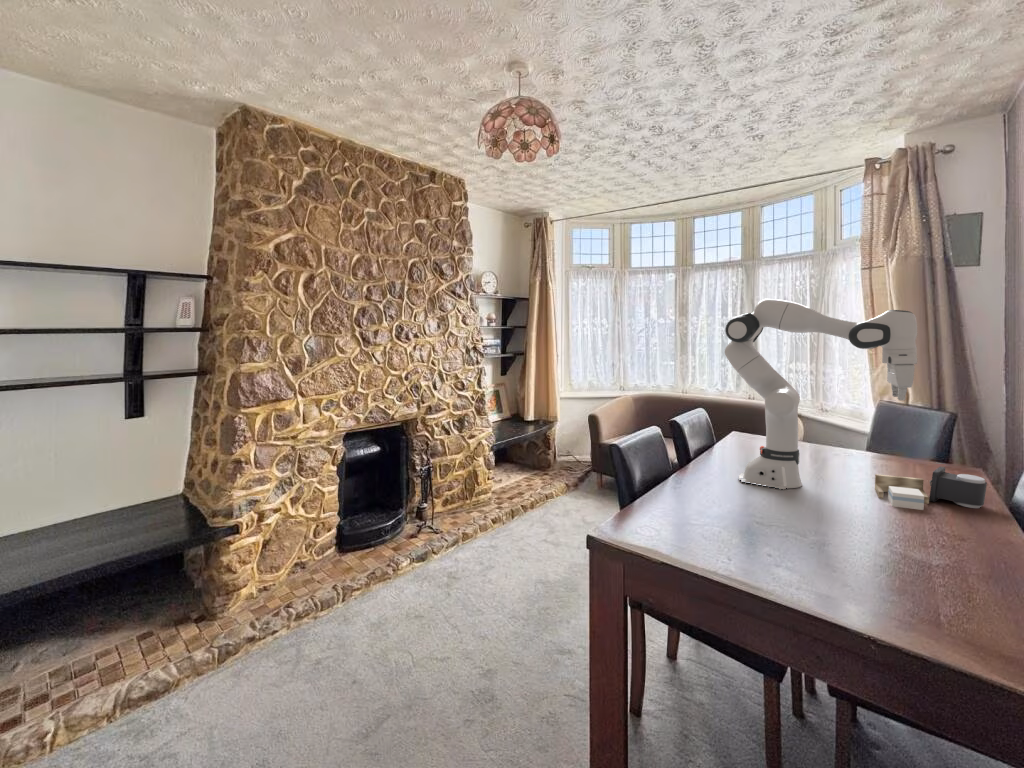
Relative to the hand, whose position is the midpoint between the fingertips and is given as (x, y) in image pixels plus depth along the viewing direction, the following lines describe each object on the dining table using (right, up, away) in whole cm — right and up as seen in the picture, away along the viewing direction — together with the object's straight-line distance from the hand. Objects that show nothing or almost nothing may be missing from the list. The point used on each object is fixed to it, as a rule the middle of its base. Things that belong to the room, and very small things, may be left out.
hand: (898, 398), depth 152 cm
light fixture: (+22, -36, +2) cm, 42 cm away
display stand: (+8, -36, +9) cm, 38 cm away
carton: (+4, -37, +2) cm, 37 cm away
